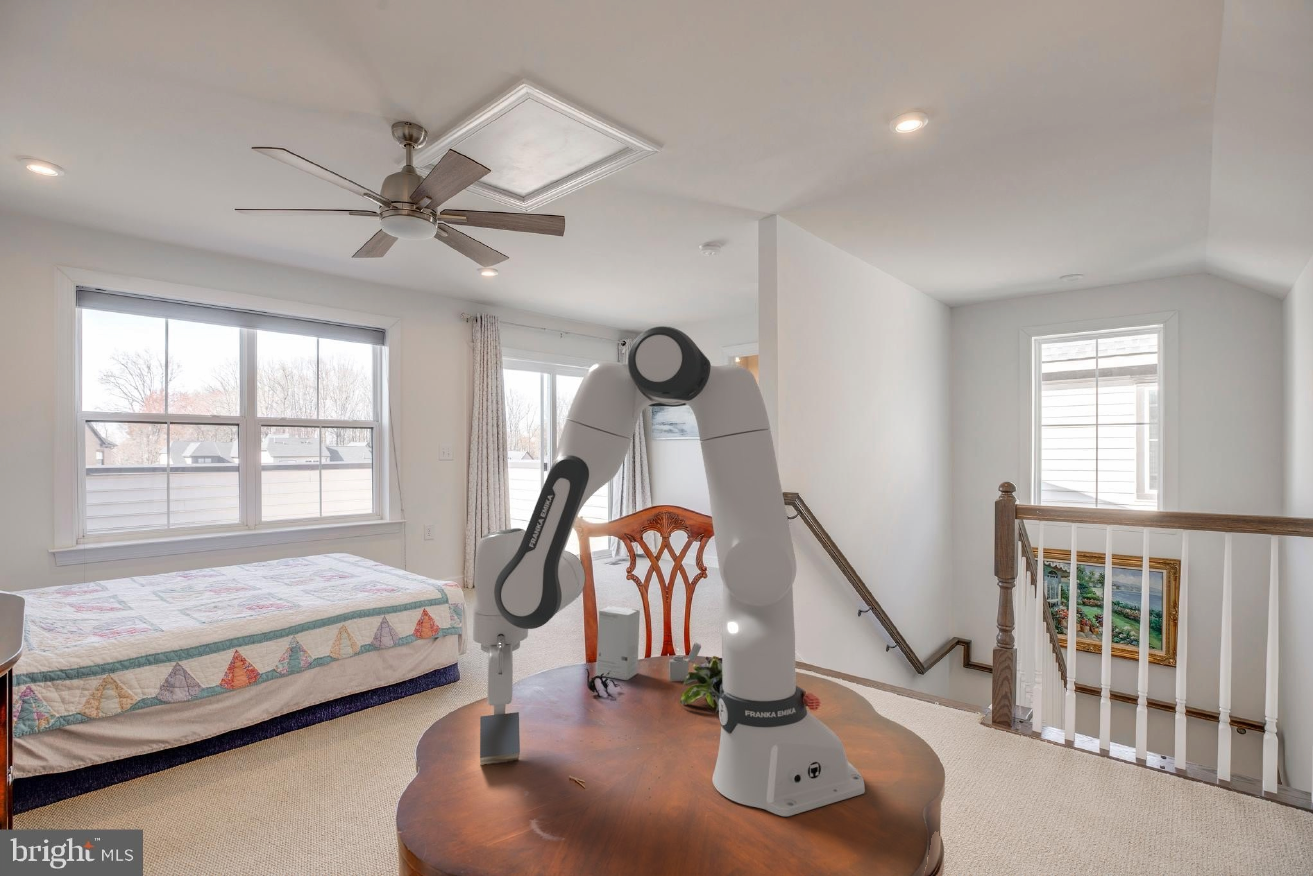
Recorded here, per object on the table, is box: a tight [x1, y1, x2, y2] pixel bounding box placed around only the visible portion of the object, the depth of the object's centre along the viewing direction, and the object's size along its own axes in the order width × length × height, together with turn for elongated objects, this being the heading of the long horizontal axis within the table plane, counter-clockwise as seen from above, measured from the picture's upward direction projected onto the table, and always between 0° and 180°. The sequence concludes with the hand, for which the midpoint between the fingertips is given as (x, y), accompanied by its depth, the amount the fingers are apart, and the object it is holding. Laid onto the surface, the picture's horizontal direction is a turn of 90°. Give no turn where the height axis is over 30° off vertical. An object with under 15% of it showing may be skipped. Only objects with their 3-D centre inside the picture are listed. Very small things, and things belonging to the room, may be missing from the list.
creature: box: [585, 668, 623, 700], centre depth 131 cm, size 8×5×8 cm
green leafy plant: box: [679, 655, 722, 715], centre depth 123 cm, size 11×11×12 cm
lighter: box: [668, 641, 702, 682], centre depth 139 cm, size 7×2×8 cm, turn 95°
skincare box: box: [595, 605, 641, 681], centre depth 142 cm, size 8×6×15 cm
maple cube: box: [479, 711, 521, 766], centre depth 100 cm, size 6×6×6 cm
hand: (499, 712), depth 102 cm, fingers closed
